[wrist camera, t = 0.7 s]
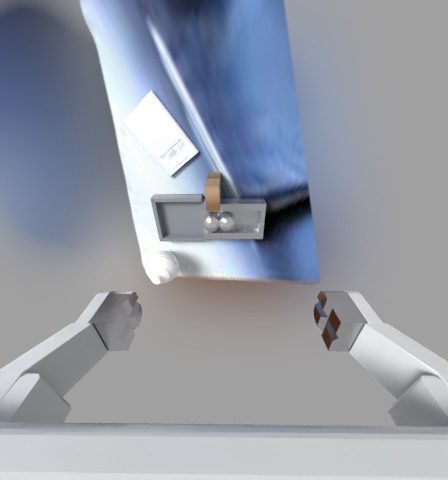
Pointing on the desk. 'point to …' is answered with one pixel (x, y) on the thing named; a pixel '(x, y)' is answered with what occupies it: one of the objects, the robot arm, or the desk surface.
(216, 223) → the shiny gray ball
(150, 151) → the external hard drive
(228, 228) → the silver metal ball
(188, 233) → the tray
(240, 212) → the slot block
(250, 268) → the desk surface
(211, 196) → the tan long rectangular block
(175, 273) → the white vase
